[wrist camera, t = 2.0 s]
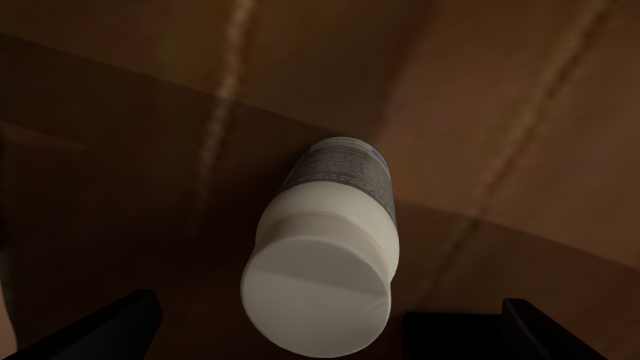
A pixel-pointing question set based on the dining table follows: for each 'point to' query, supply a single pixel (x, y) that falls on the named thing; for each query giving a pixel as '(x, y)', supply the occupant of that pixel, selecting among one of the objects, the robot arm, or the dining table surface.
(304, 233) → the pill bottle
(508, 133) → the dining table surface
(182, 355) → the dining table surface
